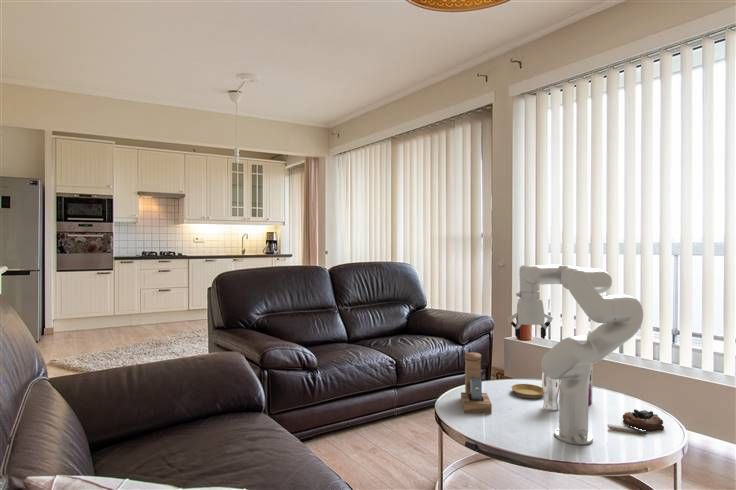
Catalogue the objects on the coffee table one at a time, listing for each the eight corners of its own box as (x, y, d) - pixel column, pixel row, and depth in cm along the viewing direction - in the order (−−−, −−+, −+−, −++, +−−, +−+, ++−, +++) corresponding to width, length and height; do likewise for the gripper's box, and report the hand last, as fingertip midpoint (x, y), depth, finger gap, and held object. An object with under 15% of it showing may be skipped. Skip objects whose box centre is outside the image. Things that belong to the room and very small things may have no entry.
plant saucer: (537, 388, 219) (537, 383, 219) (551, 400, 204) (551, 394, 204) (507, 389, 219) (507, 384, 218) (518, 400, 204) (518, 394, 204)
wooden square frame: (491, 413, 189) (491, 364, 188) (464, 412, 190) (463, 364, 189) (484, 396, 208) (484, 352, 208) (459, 396, 209) (459, 352, 209)
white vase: (556, 405, 197) (556, 370, 197) (561, 411, 190) (561, 375, 190) (539, 404, 198) (539, 370, 197) (544, 411, 191) (544, 374, 191)
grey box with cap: (482, 410, 192) (481, 381, 192) (472, 410, 192) (472, 381, 192) (479, 404, 199) (479, 376, 199) (470, 404, 199) (470, 376, 199)
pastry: (668, 430, 172) (668, 415, 172) (640, 433, 169) (641, 418, 169) (644, 419, 183) (644, 404, 182) (618, 422, 180) (618, 407, 180)
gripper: (510, 297, 183) (510, 340, 183) (554, 296, 182) (555, 340, 182) (505, 295, 191) (506, 336, 191) (548, 294, 190) (549, 336, 190)
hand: (530, 338), depth 187 cm, fingers open, 9 cm apart
